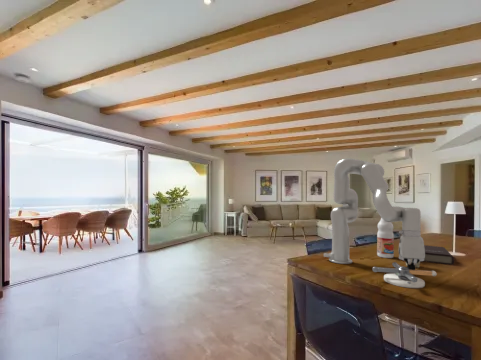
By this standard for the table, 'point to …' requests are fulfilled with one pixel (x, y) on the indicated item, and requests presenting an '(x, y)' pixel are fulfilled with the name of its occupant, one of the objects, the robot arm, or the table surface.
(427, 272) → the capstan
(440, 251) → the book
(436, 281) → the table surface
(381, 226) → the fruit juice
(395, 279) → the stand
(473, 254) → the table surface
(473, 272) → the table surface
